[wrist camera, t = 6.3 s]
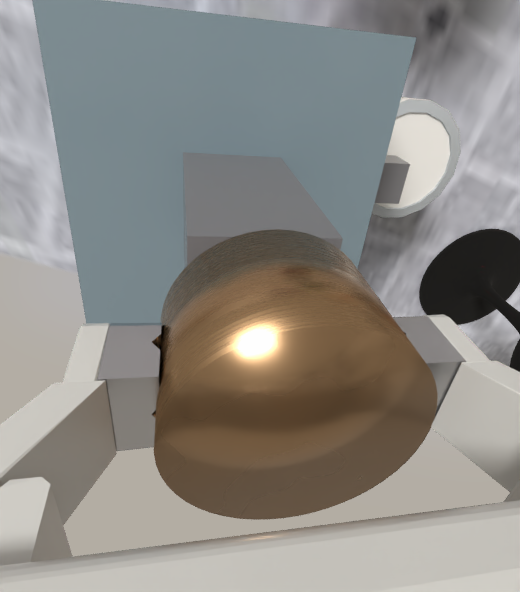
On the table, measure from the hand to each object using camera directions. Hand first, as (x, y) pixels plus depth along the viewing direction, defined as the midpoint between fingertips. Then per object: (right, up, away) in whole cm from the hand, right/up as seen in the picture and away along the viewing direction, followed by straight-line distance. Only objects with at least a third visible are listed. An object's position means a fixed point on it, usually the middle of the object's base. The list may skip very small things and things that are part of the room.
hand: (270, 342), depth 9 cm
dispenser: (-2, +12, +19) cm, 23 cm away
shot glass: (+7, +13, +21) cm, 25 cm away
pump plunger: (-1, +5, +7) cm, 8 cm away
